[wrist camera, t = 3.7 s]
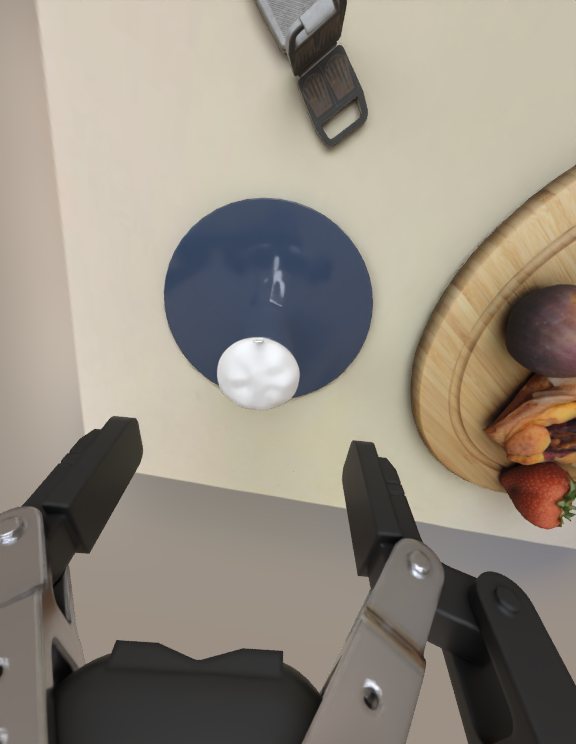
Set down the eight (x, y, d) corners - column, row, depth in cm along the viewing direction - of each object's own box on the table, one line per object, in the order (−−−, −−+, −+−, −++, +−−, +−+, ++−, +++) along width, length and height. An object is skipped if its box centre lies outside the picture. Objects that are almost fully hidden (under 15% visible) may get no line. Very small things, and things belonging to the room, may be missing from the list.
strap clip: (240, -29, 15) (223, -101, 11) (292, -84, 14) (292, -183, 10) (325, 152, 18) (332, 143, 15) (370, 117, 17) (391, 98, 14)
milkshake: (302, 286, 22) (309, 346, 13) (293, 350, 25) (294, 435, 16) (240, 278, 22) (206, 335, 13) (238, 344, 24) (209, 427, 16)
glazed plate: (175, 386, 27) (172, 390, 27) (155, 181, 19) (152, 181, 19) (346, 404, 28) (347, 408, 28) (398, 214, 20) (401, 215, 19)
